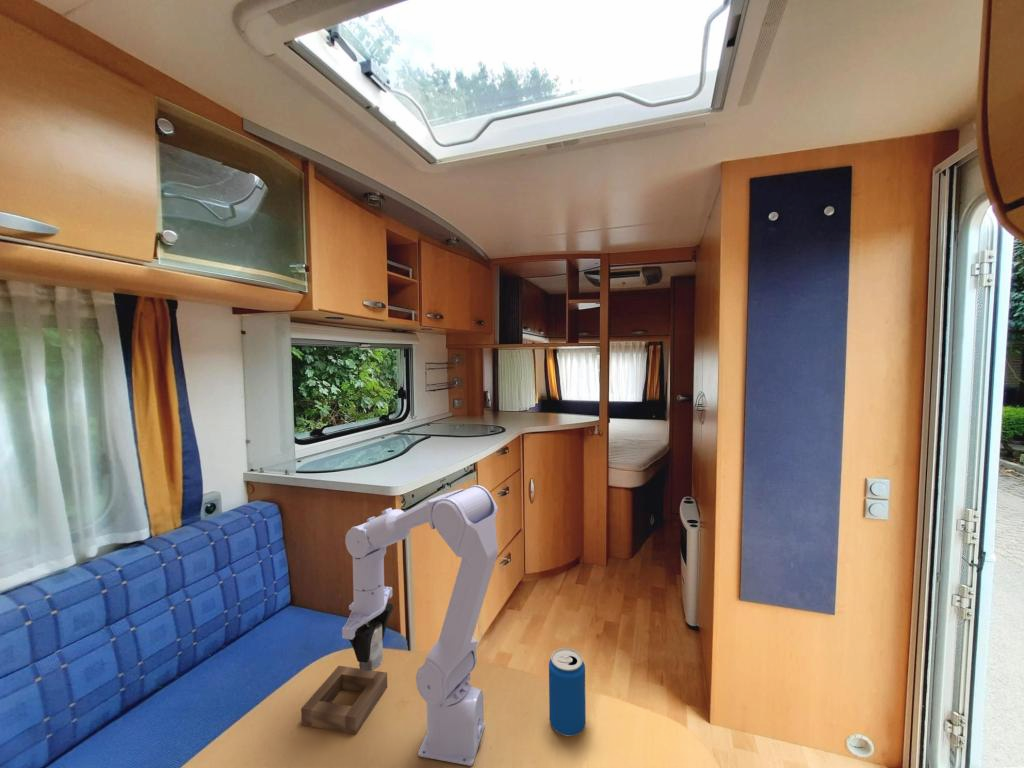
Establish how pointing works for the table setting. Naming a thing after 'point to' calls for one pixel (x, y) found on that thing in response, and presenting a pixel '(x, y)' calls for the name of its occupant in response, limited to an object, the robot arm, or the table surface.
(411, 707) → the table surface
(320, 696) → the walnut socket block
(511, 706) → the table surface
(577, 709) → the beverage can
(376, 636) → the metal peg
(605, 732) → the table surface
